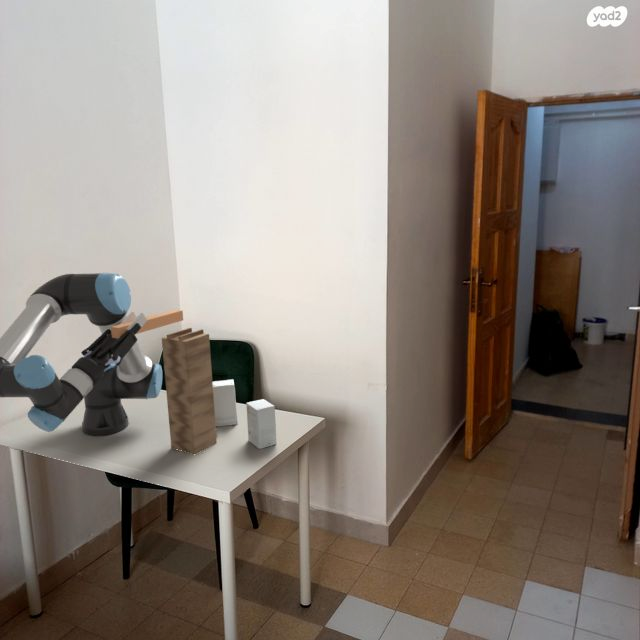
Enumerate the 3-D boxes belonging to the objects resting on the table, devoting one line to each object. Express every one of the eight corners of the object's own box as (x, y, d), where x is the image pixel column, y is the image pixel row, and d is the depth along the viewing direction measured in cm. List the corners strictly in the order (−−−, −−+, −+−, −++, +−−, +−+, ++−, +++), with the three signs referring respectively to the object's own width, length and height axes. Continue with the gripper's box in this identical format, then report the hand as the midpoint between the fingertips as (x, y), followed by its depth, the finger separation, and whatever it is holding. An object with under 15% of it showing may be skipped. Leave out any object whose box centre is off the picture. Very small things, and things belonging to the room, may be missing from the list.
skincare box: (237, 418, 211) (234, 378, 207) (237, 425, 205) (235, 384, 202) (213, 420, 210) (210, 380, 206) (213, 427, 204) (210, 386, 200)
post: (171, 448, 188) (161, 334, 180) (193, 436, 197) (184, 327, 188) (195, 454, 183) (185, 337, 175) (216, 442, 192) (208, 330, 183)
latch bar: (111, 337, 160) (110, 326, 159) (175, 319, 180) (175, 309, 179) (119, 338, 158) (118, 327, 158) (183, 320, 178) (182, 310, 178)
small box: (277, 444, 189) (275, 405, 186) (259, 449, 186) (256, 410, 183) (265, 435, 196) (263, 398, 193) (247, 440, 193) (245, 402, 190)
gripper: (69, 382, 157) (125, 323, 172) (111, 392, 149) (166, 328, 164) (54, 363, 153) (112, 303, 167) (96, 371, 145) (154, 308, 159)
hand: (139, 316), depth 165 cm, fingers closed on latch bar, 3 cm apart
